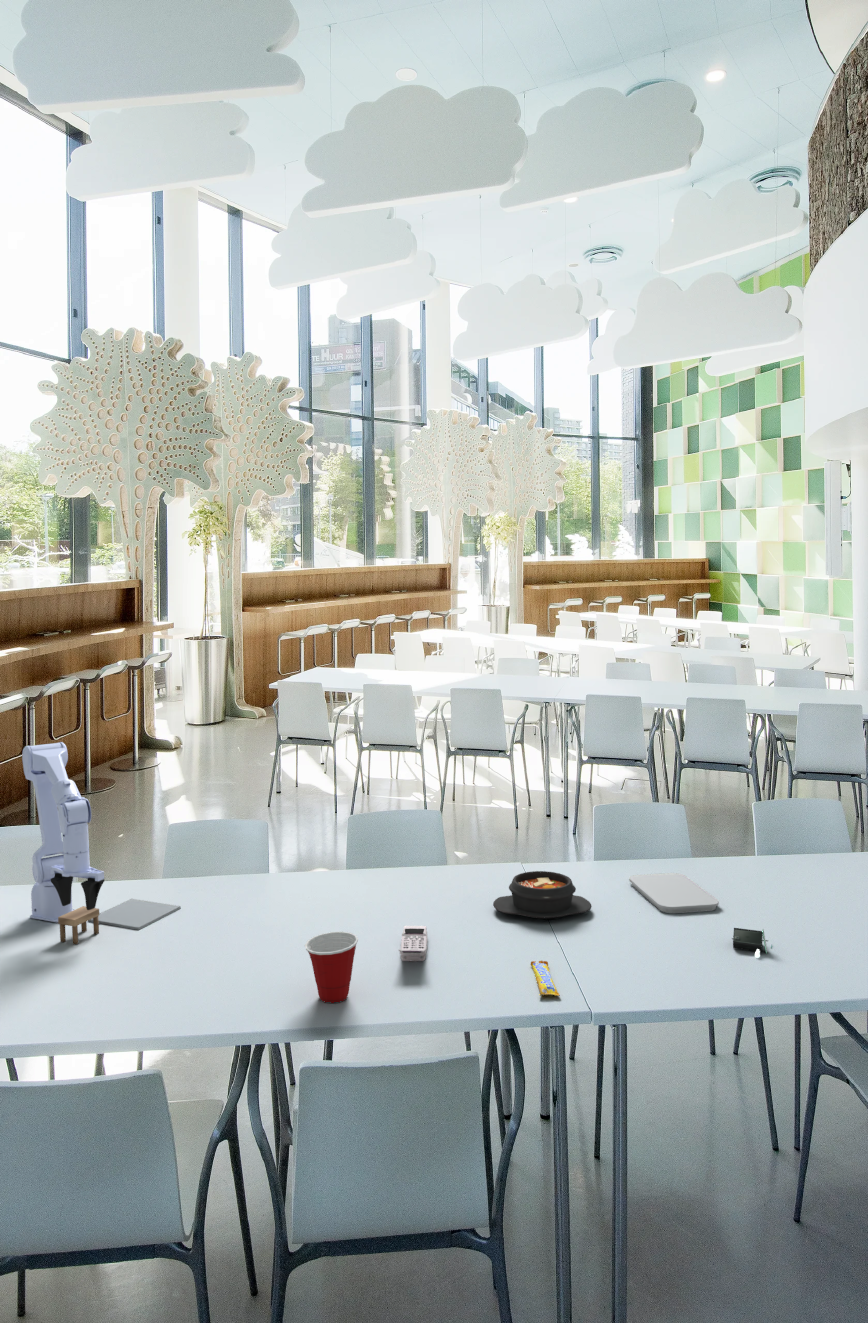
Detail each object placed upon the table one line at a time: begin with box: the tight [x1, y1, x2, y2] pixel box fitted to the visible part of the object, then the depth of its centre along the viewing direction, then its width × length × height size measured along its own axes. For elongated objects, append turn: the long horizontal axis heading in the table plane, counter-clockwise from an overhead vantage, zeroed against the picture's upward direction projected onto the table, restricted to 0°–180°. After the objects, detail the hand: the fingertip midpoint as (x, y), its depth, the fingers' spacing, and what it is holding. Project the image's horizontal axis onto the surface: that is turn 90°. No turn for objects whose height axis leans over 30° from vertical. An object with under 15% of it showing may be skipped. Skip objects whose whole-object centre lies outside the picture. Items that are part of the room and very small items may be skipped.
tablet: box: [628, 872, 720, 914], centre depth 246 cm, size 16×26×2 cm, turn 9°
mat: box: [87, 898, 181, 931], centre depth 235 cm, size 16×16×1 cm
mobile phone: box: [398, 925, 428, 962], centre depth 210 cm, size 6×6×25 cm
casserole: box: [492, 870, 593, 920], centre depth 235 cm, size 25×19×8 cm
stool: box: [57, 905, 100, 945], centre depth 220 cm, size 5×8×6 cm, turn 157°
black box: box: [731, 927, 773, 959], centre depth 211 cm, size 15×15×6 cm
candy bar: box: [530, 960, 561, 997], centre depth 194 cm, size 17×4×2 cm, turn 1°
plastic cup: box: [304, 931, 359, 1004], centre depth 187 cm, size 11×11×12 cm
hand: (78, 906), depth 220 cm, fingers open, 7 cm apart
